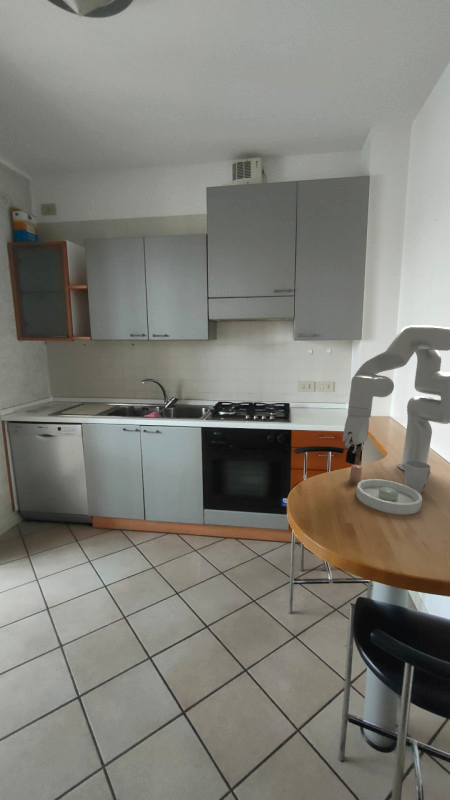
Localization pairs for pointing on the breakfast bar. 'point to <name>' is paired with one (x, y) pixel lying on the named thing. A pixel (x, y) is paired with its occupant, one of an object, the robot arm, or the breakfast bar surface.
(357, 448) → the walnut bead
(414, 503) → the groove tray
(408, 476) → the cup
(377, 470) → the breakfast bar surface
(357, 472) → the pinkish-brown rounded piece
